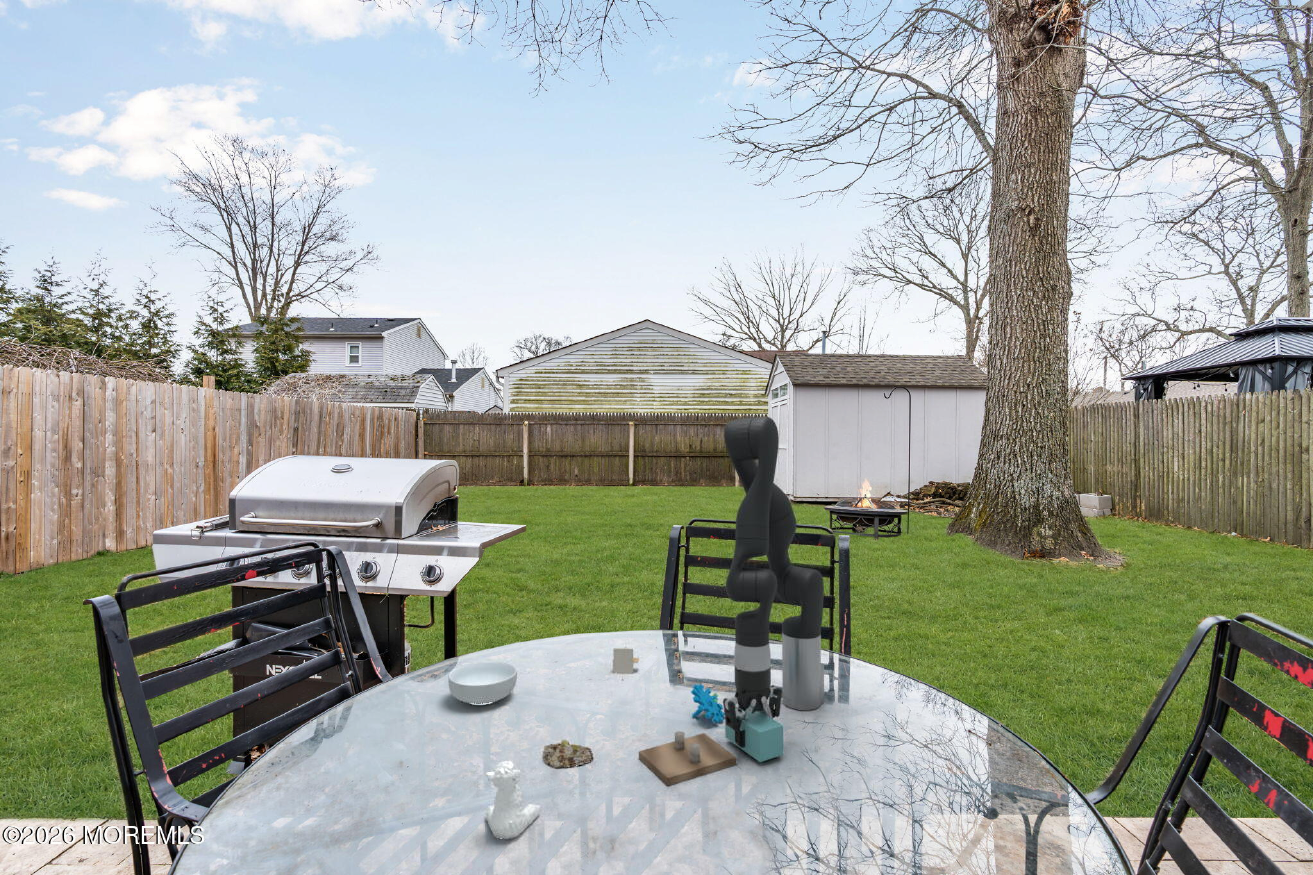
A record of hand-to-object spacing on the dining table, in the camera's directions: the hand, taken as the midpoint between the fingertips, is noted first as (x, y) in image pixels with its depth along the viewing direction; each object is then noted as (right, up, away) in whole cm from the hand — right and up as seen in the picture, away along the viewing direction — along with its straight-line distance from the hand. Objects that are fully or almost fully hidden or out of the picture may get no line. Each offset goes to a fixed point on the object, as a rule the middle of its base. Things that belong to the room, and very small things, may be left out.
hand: (753, 741), depth 141 cm
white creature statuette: (-45, -3, -26) cm, 52 cm away
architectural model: (-29, -2, +45) cm, 54 cm away
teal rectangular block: (0, -1, 0) cm, 1 cm away
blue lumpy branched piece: (-8, -2, +16) cm, 18 cm away
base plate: (-14, -2, -4) cm, 15 cm away
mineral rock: (-39, -3, -3) cm, 39 cm away
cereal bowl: (-64, -2, +27) cm, 69 cm away
